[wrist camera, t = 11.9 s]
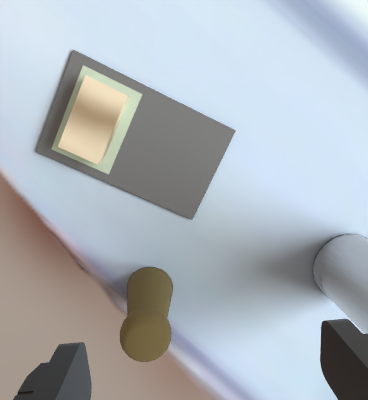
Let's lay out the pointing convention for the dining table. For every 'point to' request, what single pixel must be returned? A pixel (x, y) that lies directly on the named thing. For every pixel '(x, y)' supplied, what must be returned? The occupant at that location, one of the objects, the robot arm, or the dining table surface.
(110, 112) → the maple tile
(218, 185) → the dining table surface
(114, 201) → the dining table surface
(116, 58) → the dining table surface
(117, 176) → the grey board
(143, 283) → the cork
